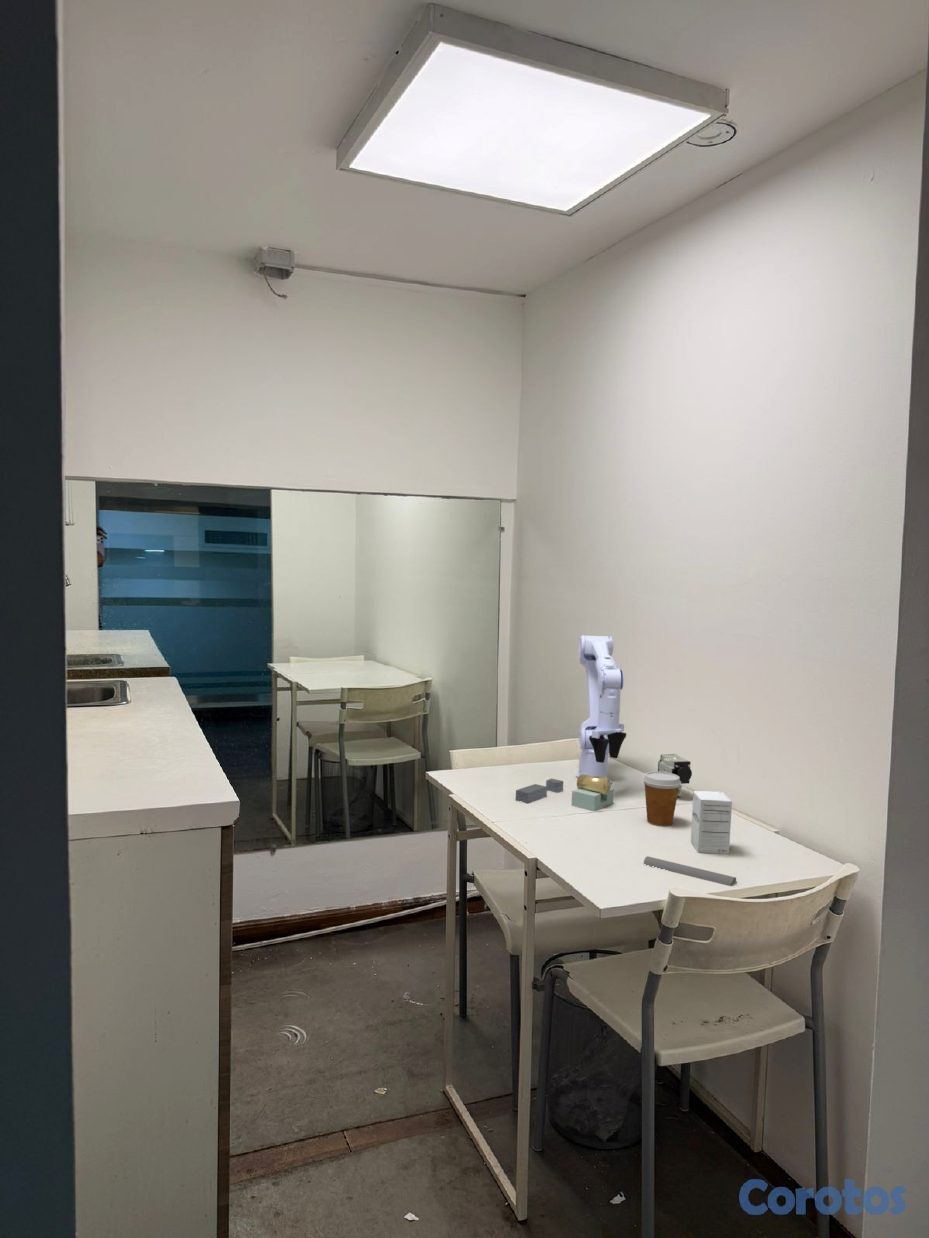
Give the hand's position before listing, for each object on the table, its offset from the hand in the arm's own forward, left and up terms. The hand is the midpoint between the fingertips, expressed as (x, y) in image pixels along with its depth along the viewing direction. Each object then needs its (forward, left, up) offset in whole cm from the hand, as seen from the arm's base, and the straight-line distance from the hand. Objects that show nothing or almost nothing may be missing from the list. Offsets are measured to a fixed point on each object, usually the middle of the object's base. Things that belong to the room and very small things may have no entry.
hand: (606, 759), depth 239 cm
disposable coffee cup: (+24, +4, -11) cm, 27 cm away
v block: (+7, -7, -10) cm, 14 cm away
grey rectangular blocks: (-4, -18, -10) cm, 21 cm away
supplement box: (+44, +6, -11) cm, 46 cm away
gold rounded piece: (+7, -7, -5) cm, 11 cm away
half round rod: (+57, -7, -11) cm, 59 cm away
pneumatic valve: (+3, +20, -11) cm, 22 cm away
